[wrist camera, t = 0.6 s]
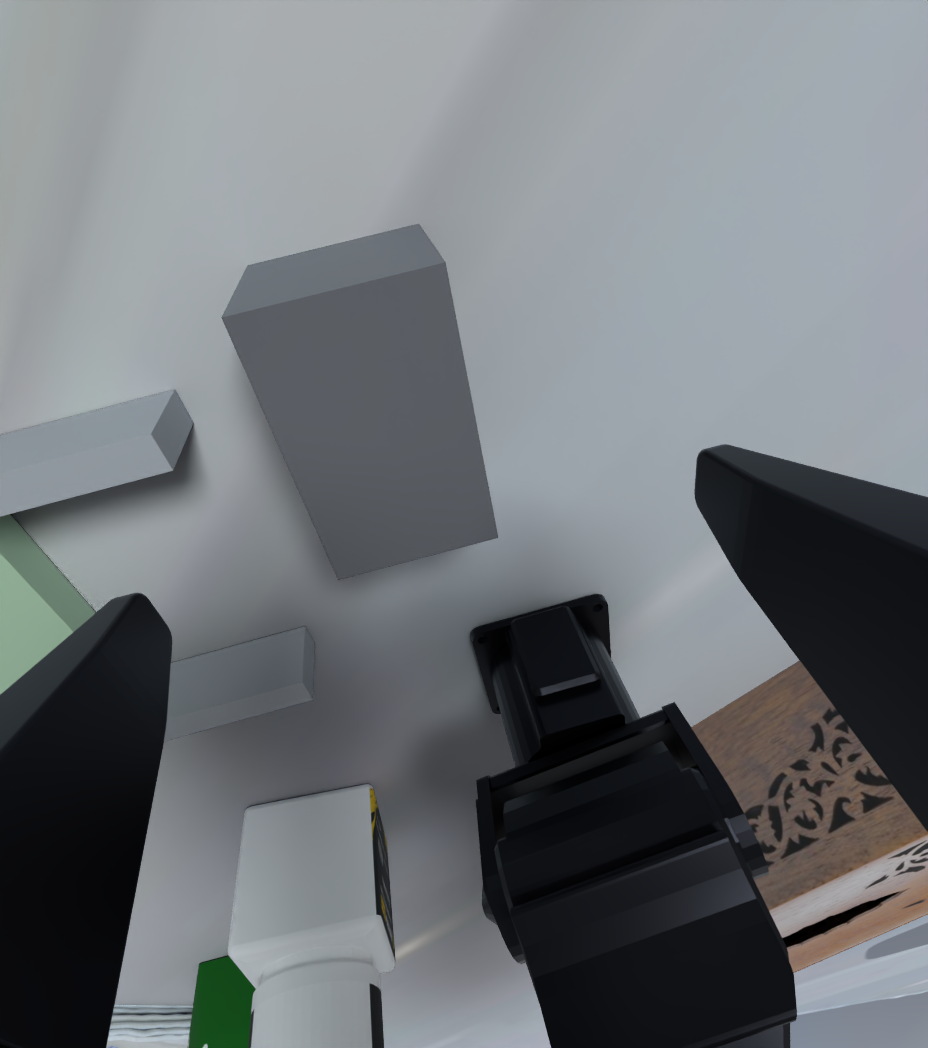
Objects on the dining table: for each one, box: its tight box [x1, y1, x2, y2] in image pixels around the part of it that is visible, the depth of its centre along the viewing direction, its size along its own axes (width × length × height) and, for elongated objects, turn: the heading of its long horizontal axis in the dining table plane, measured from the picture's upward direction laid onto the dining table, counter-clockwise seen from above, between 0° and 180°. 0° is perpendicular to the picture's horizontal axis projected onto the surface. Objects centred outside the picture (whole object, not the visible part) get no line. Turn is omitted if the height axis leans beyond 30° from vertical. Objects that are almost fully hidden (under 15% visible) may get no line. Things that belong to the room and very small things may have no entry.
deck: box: [0, 389, 315, 741], centre depth 20 cm, size 12×15×3 cm
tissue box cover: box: [691, 661, 928, 973], centre depth 36 cm, size 26×14×10 cm, turn 133°
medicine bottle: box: [228, 784, 395, 1048], centre depth 30 cm, size 7×7×12 cm
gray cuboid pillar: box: [222, 224, 498, 580], centre depth 17 cm, size 8×5×5 cm, turn 11°
